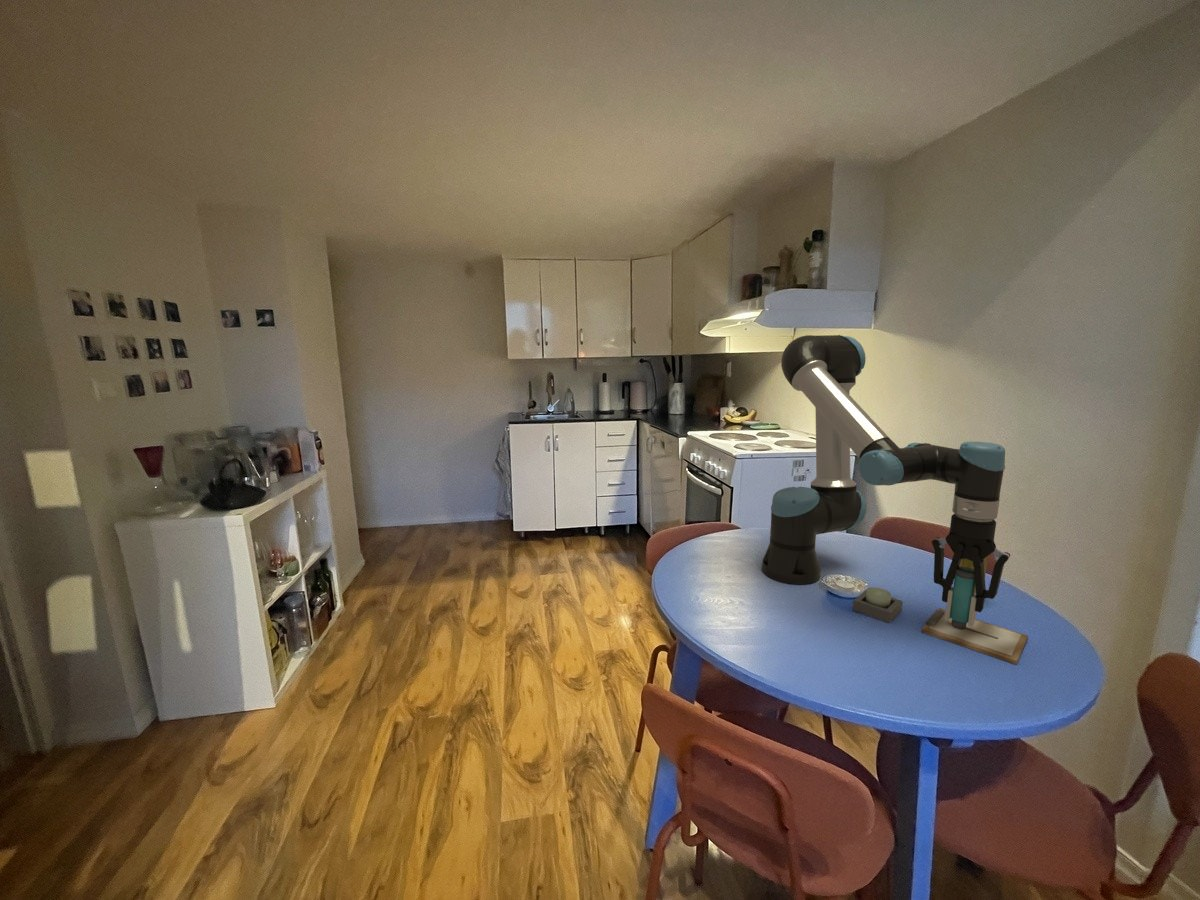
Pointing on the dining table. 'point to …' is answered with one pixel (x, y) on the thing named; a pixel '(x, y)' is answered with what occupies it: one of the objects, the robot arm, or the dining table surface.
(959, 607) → the marker
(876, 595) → the button
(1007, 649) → the drawing board
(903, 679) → the dining table surface
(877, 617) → the button frame
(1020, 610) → the dining table surface
